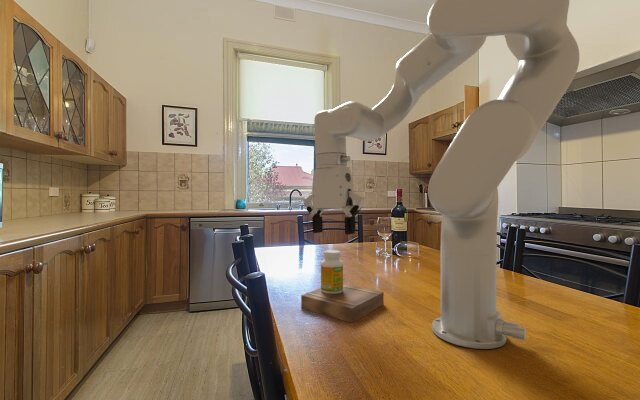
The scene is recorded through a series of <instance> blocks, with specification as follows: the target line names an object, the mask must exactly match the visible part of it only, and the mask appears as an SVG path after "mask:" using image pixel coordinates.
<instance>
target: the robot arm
mask: <svg viewBox="0 0 640 400" xmlns="http://www.w3.org/2000/svg"><path fill="white" fill-rule="evenodd" d="M569 7H570V0H436V1H435V2H434V3H433V4H432V6H431V7H430V9H429V12H428V14H427V21H426V22H427V27H428V31H429V32H430V33H428V34H427V35H426V36H425V37H424V38H423V39H422V40H421V41H419V42H417V44H416V45H414V46H413V48H411V49H410V50H409V51H408V52H407V53H406V54H405V55H403V56H402V57H401V58H399V60H397V62H396V63H395V64H396V65H395V72H394V80H393V81H394V82H393V85H392V86H391V90H390V91H389V92H388V94H387V95H386V96H385V97H384V98H383V99H382V100H381V101H380V102H379V103H378V104H376V105H375V106H374V107H372V108H370V107H369V106H367V105H364V104H363V103H360V102H358V101H347V102H345V103H343V104H341V105H339V106H337V107H335V108H332V109H326V110H320V111H318V112H317V113H316V114H315V116H314V150H315V154H314V155H315V168H314V170H313V175H312V176H313V177H312V185H311V186H312V188H311V190H312V191H311V194H310V195H308V197H306V198H304V200H303V203H304V205H305V207H306V211H307V212H308V213H309V216H310V217H311V218H312V220H311V222H312V233H313V234H317V233H318V234H319V233H323V231H324V230H323V225H324V224H323V217H322V216H321V215H322V213H323V211H324V210H342V212H343V213H344V214H345V215H346V217H344V233H345V235H346V236H347V235H354V234H356V233H355V231H356V217H357V216H358V214H359V212H360V211H362V206H363V204H364V202H365V197H364V196H362V195H360V194H359V193H356V192H355V188H354V180H353V176H352V170H351V168H350V167H349V166H348V162H350V161H351V156H350V155H348V154H347V142H346V141H347V137H349V138H353V139H357V140H360V141H364V142H374V141H376V140H378V139H381V137H384V136H385V135H386V134H387V133H389V132H390V131H392V130H393V129H394V128H396V127H397V126H398V125H399V124H400V123H402V122H403V121H404V120H405V119H406V117H407V116H408V115H409V114H410V113H411V111H412V110H413V109H414V107H416V104H417V103H418V101H419V100H420V98H421V97H422V96H423V95H424V94H425V93H426V92H427V91H429V90H430V89H431V88H432V87H434V86H436V84H437V83H439V82H441V81H442V80H443V79H444V78H445V77H447V76H448V75H449V74H451V73H452V72H453V71H454V70H456V69H457V68H459V67H460V66H461V65H463V63H465V62H466V61H468V59H470V58H471V57H473V56H475V54H476V53H477V52H478V51H479V50H480V49H481V48H482V47H483V45H484V44H485V42H486V41H487V37H496V36H504V38H505V42H506V45H507V48H508V50H509V51H510V52H511V54H512V55H513V56H514V57H515V59H516V60H517V62H518V67H517V70H516V71H515V72H514V73H513V74H512V76H511V77H510V79H508V82H506V84H505V86H504V88H503V90H502V91H501V93H500V94H499V97H497V99H493V100H489V101H487V102H485V103H482V104H481V105H479V106H478V107H477V108H476V109H474V110H473V111H472V112H471V113H470V114H469V115H468V116H467V118H466V119H465V120H464V121H463V123H462V125H461V126H460V128H459V130H458V131H457V133H456V134H455V136H454V138H453V139H452V141H451V142H450V144H449V146H448V148H447V149H446V151H445V152H444V153H443V155H442V157H441V158H440V161H439V162H438V164H437V166H435V169H434V170H433V173H432V175H431V176H430V179H429V181H428V182H429V183H428V186H427V195H428V200H429V203H430V204H431V207H432V208H434V210H435V211H436V212H437V213H438V214H440V215H441V225H440V316H439V317H437V318H435V319H434V320H433V321H432V323H431V329H432V332H433V333H434V334H435V336H437V337H439V338H440V339H442V340H443V341H445V342H448V343H451V344H452V345H456V346H459V347H464V348H469V349H475V350H476V349H477V350H478V349H479V350H490V349H497V348H500V347H502V346H504V345H505V344H506V343H507V337H512V338H513V339H518V340H522V341H526V335H527V333H526V332H527V330H526V328H525V327H521V326H520V323H518V322H513V321H506V320H505V319H504V318H502V317H501V315H502V314H501V311H500V310H497V254H498V253H497V252H498V251H497V249H498V244H497V243H498V241H497V239H498V216H499V215H498V214H499V213H498V212H499V211H498V210H499V190H498V187H499V185H501V183H502V181H503V180H504V179H505V177H506V175H507V174H508V173H509V171H510V170H511V169H512V167H513V165H514V164H515V163H516V162H517V161H518V160H520V159H521V158H524V156H525V155H526V154H527V153H528V152H529V150H530V148H532V146H533V143H534V141H535V139H536V138H537V136H538V134H539V133H540V131H541V130H542V129H543V127H544V125H545V124H546V123H547V121H548V120H549V118H550V117H551V115H552V113H554V110H555V109H556V107H557V105H558V104H559V102H560V101H561V100H562V97H563V96H564V95H565V93H566V92H567V90H568V88H569V87H570V85H571V84H572V82H573V80H574V78H575V77H576V75H577V72H578V68H579V64H580V49H579V45H578V42H577V40H576V38H575V37H574V35H573V34H572V32H571V31H570V29H569V27H568V25H567V22H568V15H569V14H568V13H569Z"/></svg>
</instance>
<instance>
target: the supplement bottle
mask: <svg viewBox="0 0 640 400" xmlns="http://www.w3.org/2000/svg"><path fill="white" fill-rule="evenodd" d="M323 258H324V259H322V260H321V262H320V288H321V291H322V292H323V293H327V294H338V293H341V292H342V291H343V284H344V262H343V260H341V259H340V258H341V251H340V250H336V249H335V250H334V249H327V250H324V251H323Z"/></svg>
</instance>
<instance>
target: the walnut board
mask: <svg viewBox="0 0 640 400" xmlns="http://www.w3.org/2000/svg"><path fill="white" fill-rule="evenodd" d="M384 294H385V293H384V291H379V290H375V289H371V288H364V287H360V286H355V285H350V284H345V283H343V291H342V292H341V293H338V294H327V293H323V292H322V291H321V287H320V288H317V289H314V290H312V291H310V292H305V293H303V294H301V296H300V298H301V303H300V304H301V305H300V307H301V309H303V310H307V311H310V312H314V313H316V314H320V315H323V316H327V317H330V318H333V319H338V320H341V321H344V322H348V323H354V322H356V321H358V320H359V319H361V318H363V317H364V316H367V315H368V314H370V313H371V312H373V311H375V310H377V309H379V308H380V307H382V306H384V305H385V303H384Z"/></svg>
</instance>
